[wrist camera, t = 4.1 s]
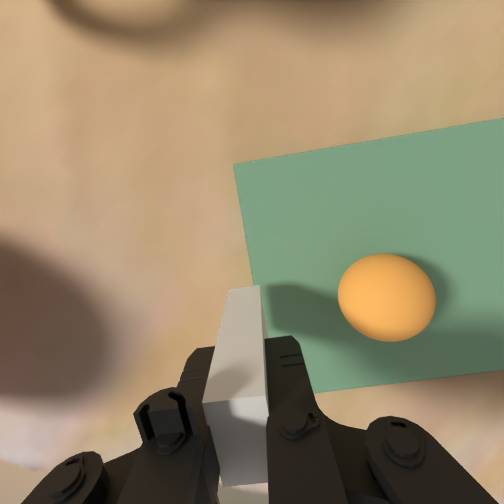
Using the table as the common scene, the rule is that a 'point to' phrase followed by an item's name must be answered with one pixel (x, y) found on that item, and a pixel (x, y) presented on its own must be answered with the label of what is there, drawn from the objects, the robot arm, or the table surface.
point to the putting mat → (382, 249)
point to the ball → (386, 297)
